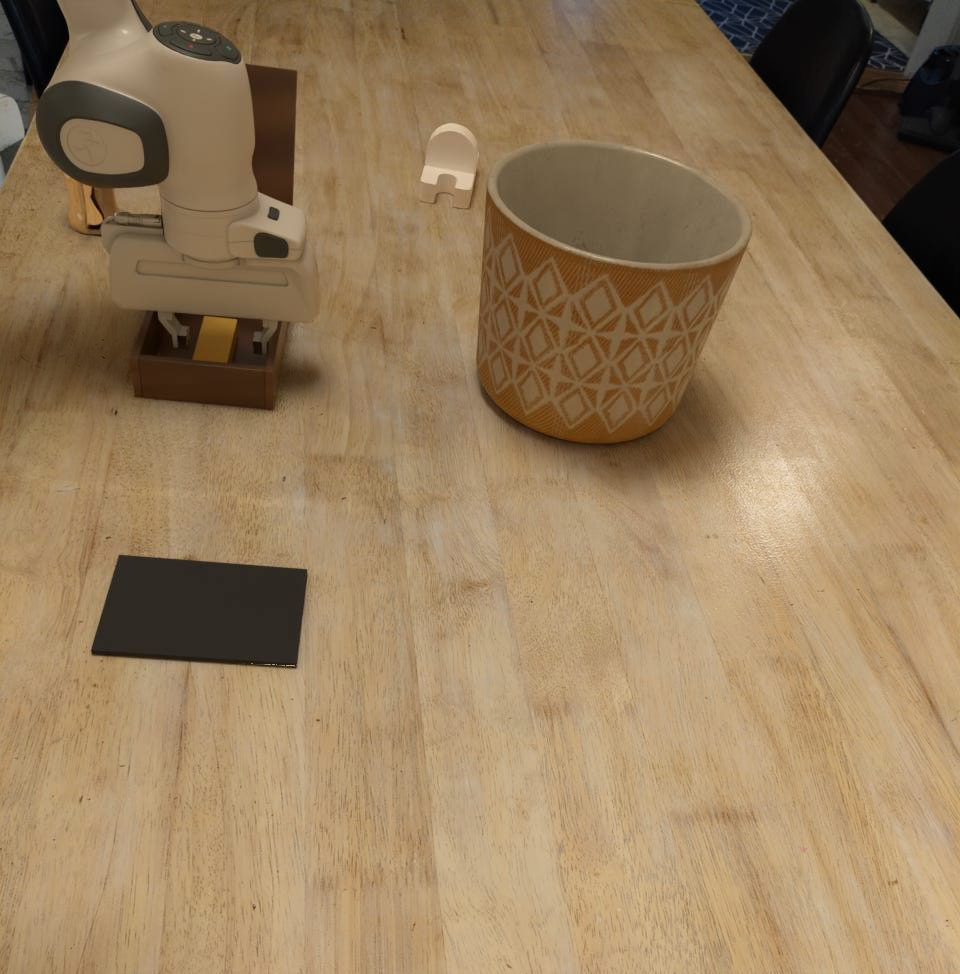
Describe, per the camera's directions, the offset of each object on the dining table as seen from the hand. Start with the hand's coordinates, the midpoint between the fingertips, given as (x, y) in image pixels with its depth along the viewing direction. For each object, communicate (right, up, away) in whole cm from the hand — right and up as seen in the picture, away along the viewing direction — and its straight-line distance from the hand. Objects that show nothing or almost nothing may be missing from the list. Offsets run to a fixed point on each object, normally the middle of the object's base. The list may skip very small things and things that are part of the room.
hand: (221, 348), depth 110 cm
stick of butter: (-1, -1, +1) cm, 2 cm away
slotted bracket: (+22, +33, +39) cm, 56 cm away
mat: (+4, -28, -21) cm, 35 cm away
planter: (+37, -2, +9) cm, 38 cm away
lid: (0, +19, +1) cm, 19 cm away
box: (-1, 0, +3) cm, 3 cm away
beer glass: (-20, +20, +19) cm, 34 cm away
